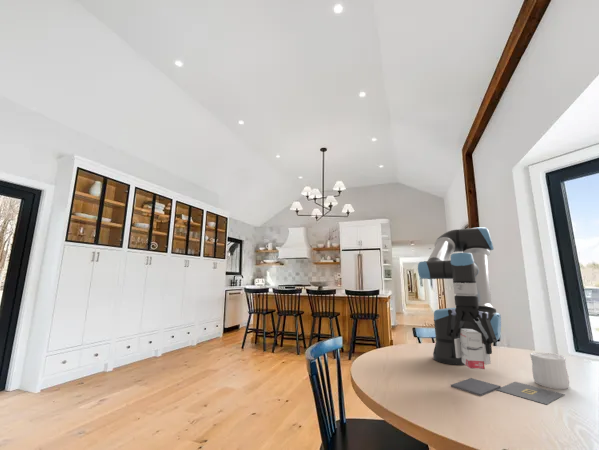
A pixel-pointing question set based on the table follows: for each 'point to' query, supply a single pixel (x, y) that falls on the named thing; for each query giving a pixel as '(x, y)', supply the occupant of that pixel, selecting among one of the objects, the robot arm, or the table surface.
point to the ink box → (471, 348)
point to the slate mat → (530, 392)
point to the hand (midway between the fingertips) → (472, 360)
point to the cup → (550, 370)
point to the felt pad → (475, 386)
